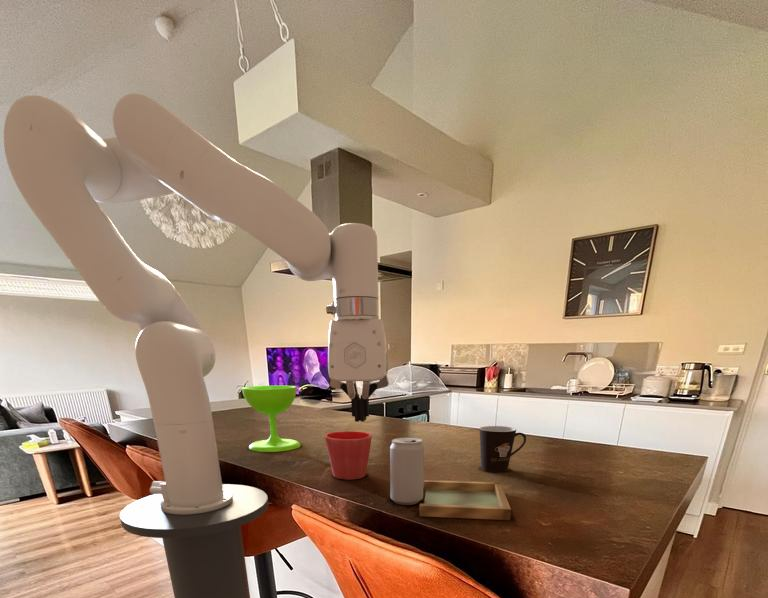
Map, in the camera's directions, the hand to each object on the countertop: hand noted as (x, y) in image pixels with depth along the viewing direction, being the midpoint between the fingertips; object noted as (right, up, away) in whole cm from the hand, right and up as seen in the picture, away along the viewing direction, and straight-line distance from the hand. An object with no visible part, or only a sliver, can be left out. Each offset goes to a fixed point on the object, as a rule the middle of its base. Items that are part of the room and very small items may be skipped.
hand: (360, 420), depth 78 cm
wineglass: (-30, +4, +55) cm, 63 cm away
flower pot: (-4, -9, +22) cm, 24 cm away
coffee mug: (+33, -7, +26) cm, 43 cm away
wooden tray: (+19, -15, +3) cm, 25 cm away
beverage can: (+9, -15, +4) cm, 18 cm away
